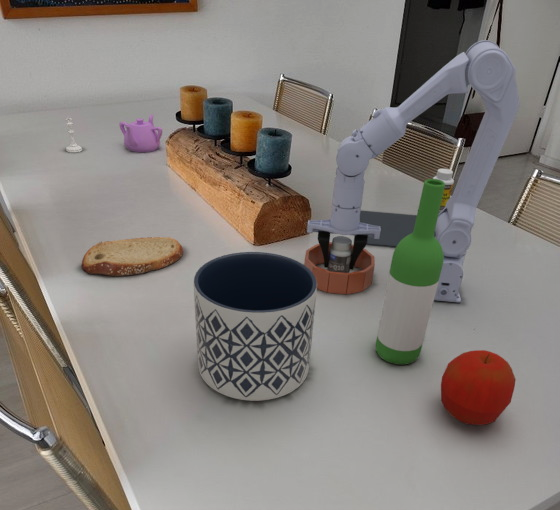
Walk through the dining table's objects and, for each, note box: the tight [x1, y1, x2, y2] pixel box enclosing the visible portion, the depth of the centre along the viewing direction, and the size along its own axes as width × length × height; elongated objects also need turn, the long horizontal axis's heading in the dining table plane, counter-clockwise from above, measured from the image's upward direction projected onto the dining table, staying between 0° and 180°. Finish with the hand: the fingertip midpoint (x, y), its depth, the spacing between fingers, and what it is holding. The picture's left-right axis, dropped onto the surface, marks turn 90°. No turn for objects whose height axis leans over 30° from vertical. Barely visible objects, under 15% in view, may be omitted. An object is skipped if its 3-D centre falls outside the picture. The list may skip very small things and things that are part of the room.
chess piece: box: [65, 115, 83, 153], centre depth 170 cm, size 5×5×10 cm
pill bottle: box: [326, 235, 353, 273], centre depth 113 cm, size 5×5×8 cm
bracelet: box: [303, 241, 376, 295], centre depth 114 cm, size 14×14×4 cm
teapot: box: [118, 113, 163, 153], centre depth 176 cm, size 12×14×9 cm
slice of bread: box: [81, 236, 184, 277], centre depth 116 cm, size 18×18×4 cm
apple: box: [440, 349, 517, 426], centre depth 80 cm, size 10×10×12 cm
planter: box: [193, 251, 318, 402], centre depth 85 cm, size 18×18×16 cm
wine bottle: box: [375, 178, 445, 366], centre depth 85 cm, size 8×8×30 cm
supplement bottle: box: [432, 168, 455, 213], centre depth 145 cm, size 6×6×10 cm
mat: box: [359, 210, 436, 248], centre depth 136 cm, size 20×20×1 cm
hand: (338, 266), depth 114 cm, fingers closed on pill bottle, 5 cm apart
